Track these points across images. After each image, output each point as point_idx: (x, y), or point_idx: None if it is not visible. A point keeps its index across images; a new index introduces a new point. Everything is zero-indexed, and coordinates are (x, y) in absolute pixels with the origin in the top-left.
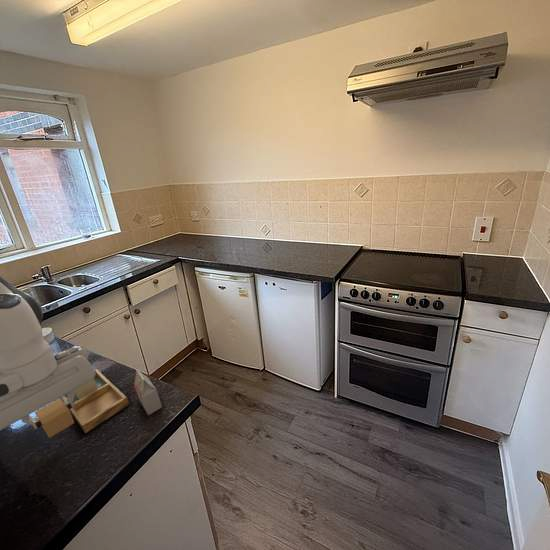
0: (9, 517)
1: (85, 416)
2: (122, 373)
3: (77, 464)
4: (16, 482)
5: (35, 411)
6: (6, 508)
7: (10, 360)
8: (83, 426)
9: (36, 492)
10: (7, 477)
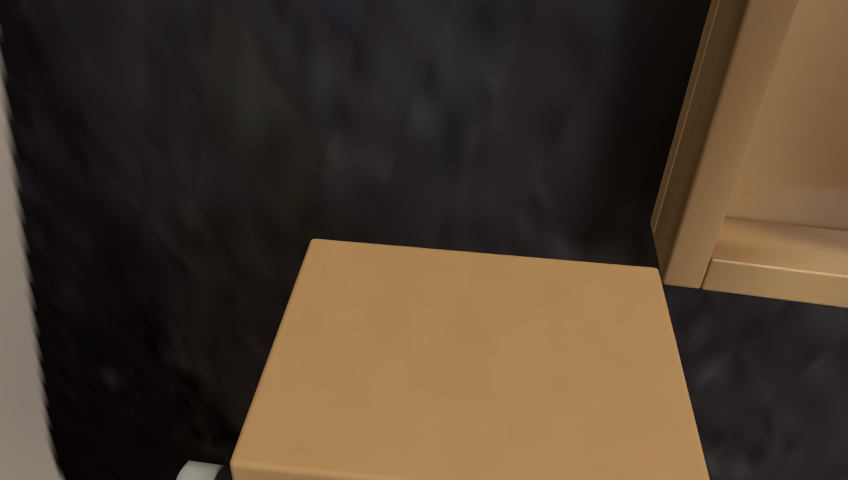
0: (64, 388)
1: (821, 19)
2: None
3: None
4: (89, 185)
5: (237, 468)
6: (43, 324)
7: None
8: (670, 276)
9: (200, 377)
10: (19, 59)
